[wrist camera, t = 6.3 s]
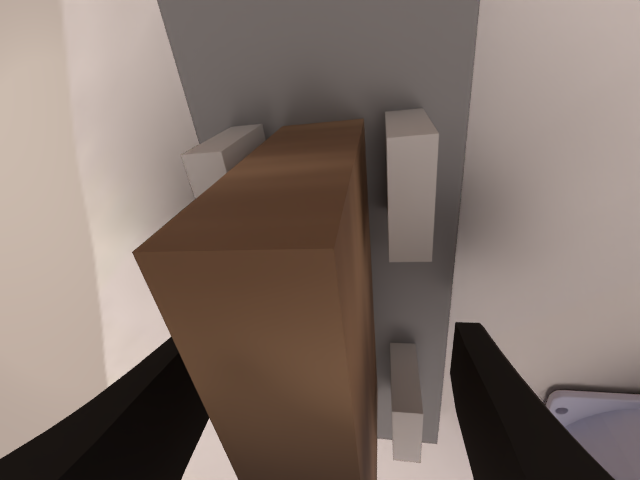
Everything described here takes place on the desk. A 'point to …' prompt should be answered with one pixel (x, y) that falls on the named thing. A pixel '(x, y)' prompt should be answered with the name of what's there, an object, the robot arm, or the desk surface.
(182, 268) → the door panel
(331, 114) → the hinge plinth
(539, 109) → the desk surface
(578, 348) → the desk surface
